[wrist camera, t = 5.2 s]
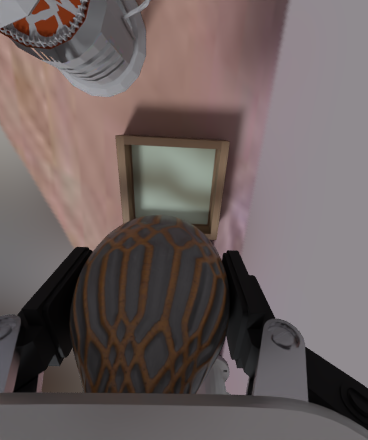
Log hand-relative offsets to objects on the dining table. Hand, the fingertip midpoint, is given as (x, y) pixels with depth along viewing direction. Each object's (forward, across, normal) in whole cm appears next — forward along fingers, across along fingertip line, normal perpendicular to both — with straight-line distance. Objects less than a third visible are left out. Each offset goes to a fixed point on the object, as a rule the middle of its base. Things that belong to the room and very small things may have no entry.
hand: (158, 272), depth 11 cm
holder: (+16, 0, 0) cm, 16 cm away
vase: (+3, 0, 0) cm, 3 cm away
